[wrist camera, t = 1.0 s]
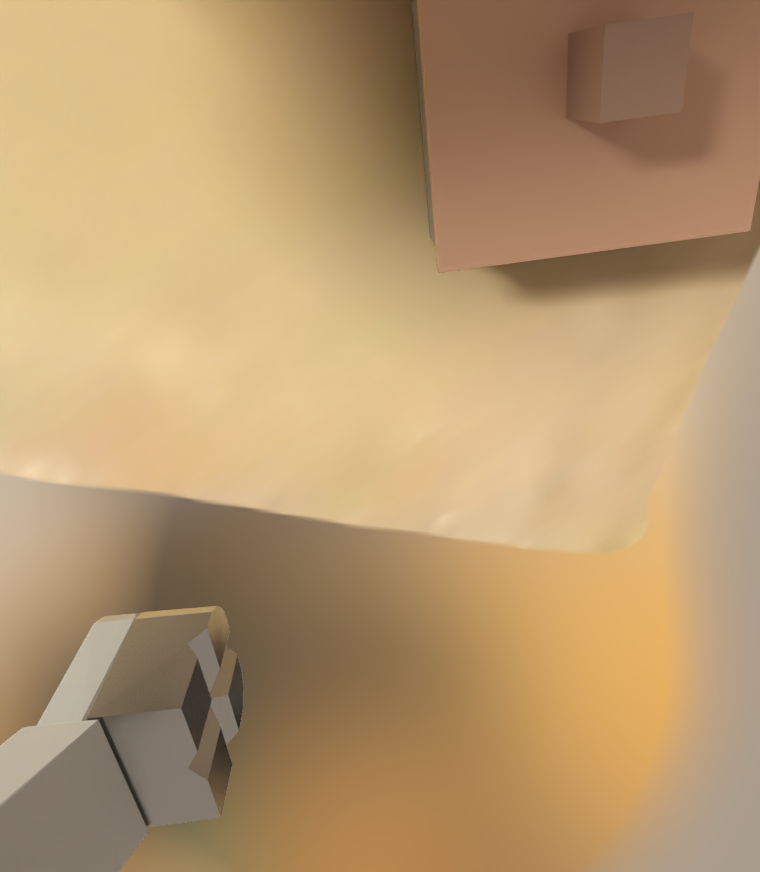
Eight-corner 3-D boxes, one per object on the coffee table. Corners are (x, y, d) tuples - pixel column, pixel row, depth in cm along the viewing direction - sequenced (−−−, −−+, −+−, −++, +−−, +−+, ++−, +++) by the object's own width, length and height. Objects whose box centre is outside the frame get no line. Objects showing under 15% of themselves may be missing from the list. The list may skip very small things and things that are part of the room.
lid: (406, -131, 22) (420, -184, 18) (810, -192, 22) (925, -263, 17) (437, 267, 29) (451, 298, 25) (738, 226, 29) (806, 251, 25)
